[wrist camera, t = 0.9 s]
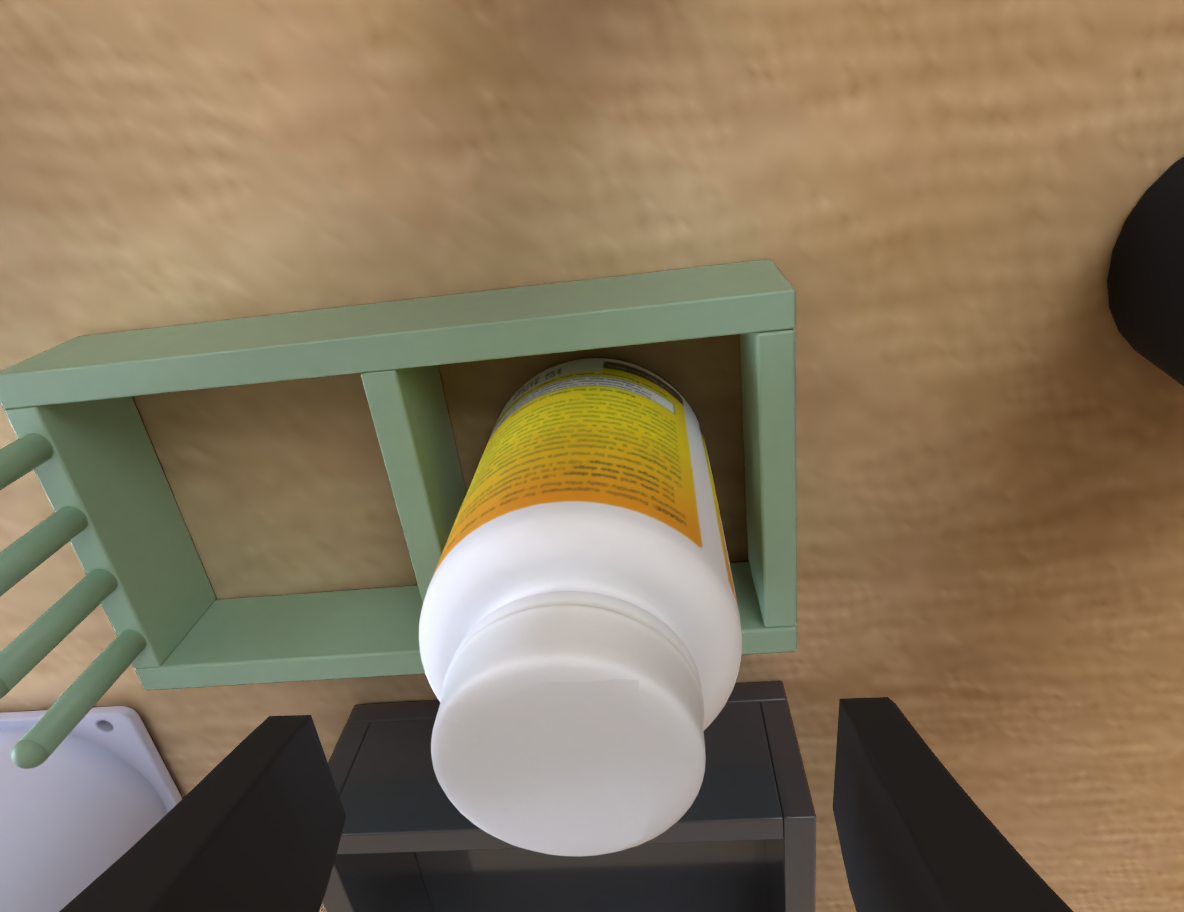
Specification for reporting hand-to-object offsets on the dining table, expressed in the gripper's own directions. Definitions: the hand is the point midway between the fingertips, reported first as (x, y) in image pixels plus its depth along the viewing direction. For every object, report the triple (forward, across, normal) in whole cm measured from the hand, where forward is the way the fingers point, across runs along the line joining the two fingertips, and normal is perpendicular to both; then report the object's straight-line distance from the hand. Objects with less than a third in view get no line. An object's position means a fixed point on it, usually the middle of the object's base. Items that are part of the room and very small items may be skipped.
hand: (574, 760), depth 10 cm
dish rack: (+10, +4, 0) cm, 11 cm away
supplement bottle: (+11, 0, 0) cm, 11 cm away
